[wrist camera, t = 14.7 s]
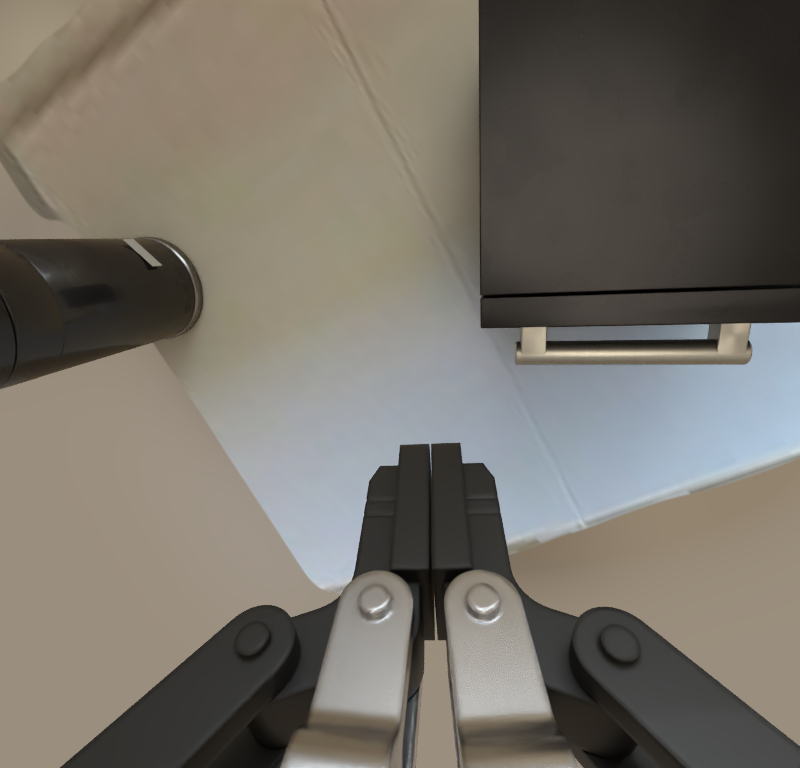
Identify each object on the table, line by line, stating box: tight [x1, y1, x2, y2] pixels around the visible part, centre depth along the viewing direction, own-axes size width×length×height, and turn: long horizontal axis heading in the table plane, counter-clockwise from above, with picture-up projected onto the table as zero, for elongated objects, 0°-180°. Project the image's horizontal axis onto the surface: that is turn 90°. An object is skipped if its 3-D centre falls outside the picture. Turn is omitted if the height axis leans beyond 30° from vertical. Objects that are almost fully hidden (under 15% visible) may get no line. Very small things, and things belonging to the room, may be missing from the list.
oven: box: [479, 0, 800, 296], centre depth 25 cm, size 15×16×14 cm
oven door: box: [480, 284, 800, 365], centre depth 28 cm, size 4×16×14 cm, turn 94°
